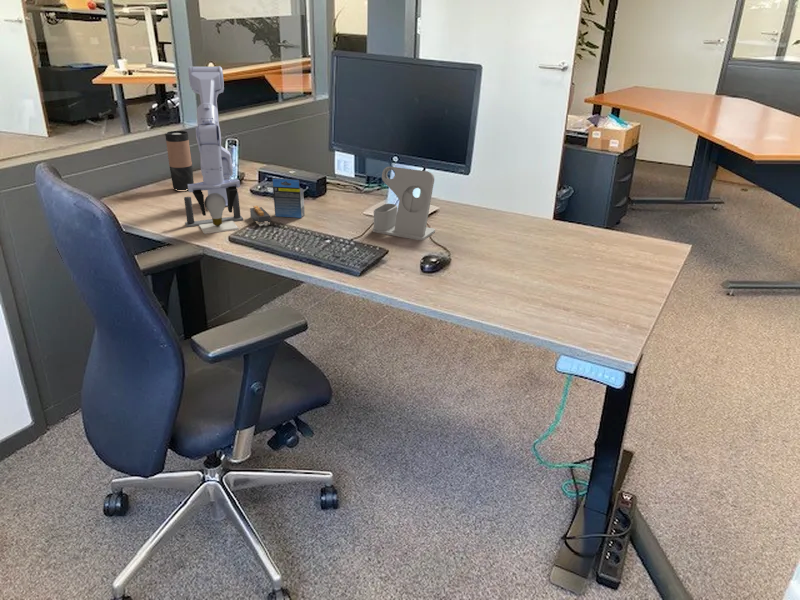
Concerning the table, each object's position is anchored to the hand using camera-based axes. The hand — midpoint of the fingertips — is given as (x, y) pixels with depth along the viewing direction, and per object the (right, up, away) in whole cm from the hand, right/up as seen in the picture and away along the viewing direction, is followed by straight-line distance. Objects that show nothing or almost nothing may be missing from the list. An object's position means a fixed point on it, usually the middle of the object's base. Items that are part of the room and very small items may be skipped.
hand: (217, 213), depth 185 cm
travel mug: (-24, +14, +41) cm, 49 cm away
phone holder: (+55, -5, +2) cm, 55 cm away
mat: (0, -4, +2) cm, 4 cm away
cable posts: (-3, -2, +7) cm, 8 cm away
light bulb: (0, -4, +2) cm, 4 cm away
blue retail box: (+19, +1, +14) cm, 24 cm away
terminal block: (+11, -1, +8) cm, 14 cm away
